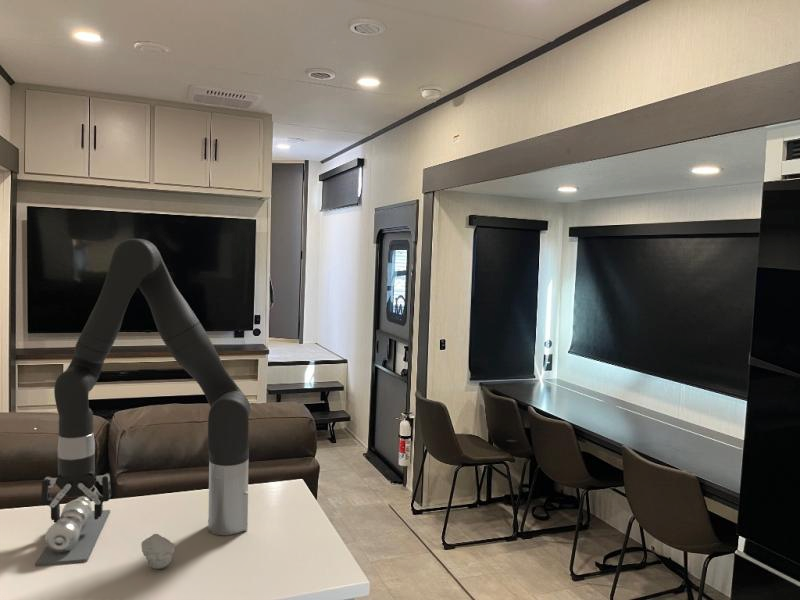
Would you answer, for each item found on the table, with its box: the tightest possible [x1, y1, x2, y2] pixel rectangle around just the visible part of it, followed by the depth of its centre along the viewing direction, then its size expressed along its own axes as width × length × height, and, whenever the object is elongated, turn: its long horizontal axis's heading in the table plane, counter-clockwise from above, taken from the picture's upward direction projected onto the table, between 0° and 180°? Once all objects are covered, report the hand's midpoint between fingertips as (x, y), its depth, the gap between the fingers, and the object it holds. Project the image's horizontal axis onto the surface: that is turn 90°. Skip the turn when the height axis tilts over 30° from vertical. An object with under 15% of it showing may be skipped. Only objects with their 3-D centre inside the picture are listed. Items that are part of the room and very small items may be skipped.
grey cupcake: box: [141, 533, 176, 570], centre depth 129 cm, size 6×7×7 cm
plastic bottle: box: [44, 495, 93, 553], centre depth 140 cm, size 6×7×20 cm
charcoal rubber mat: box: [34, 509, 111, 567], centre depth 140 cm, size 10×24×1 cm, turn 15°
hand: (77, 519), depth 141 cm, fingers open, 8 cm apart
